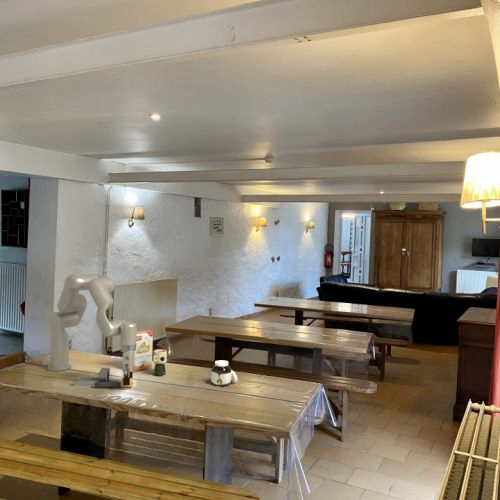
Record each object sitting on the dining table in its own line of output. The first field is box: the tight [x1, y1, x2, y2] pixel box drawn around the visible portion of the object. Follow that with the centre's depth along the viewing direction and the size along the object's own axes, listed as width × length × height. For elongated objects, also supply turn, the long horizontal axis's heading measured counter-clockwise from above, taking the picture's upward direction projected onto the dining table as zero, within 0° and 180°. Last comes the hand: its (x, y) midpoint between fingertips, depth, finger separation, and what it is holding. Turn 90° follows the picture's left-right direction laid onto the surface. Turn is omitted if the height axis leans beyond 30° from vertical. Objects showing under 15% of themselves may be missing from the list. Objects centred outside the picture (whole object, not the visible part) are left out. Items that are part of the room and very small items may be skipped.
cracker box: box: [133, 329, 154, 373], centre depth 272 cm, size 14×6×21 cm, turn 143°
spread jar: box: [210, 359, 239, 387], centre depth 249 cm, size 12×11×12 cm
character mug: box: [152, 349, 168, 376], centre depth 262 cm, size 11×7×13 cm, turn 152°
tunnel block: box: [72, 367, 111, 387], centre depth 246 cm, size 16×10×6 cm, turn 96°
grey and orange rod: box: [94, 377, 135, 389], centre depth 239 cm, size 19×4×4 cm, turn 96°
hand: (127, 382), depth 240 cm, fingers open, 9 cm apart
